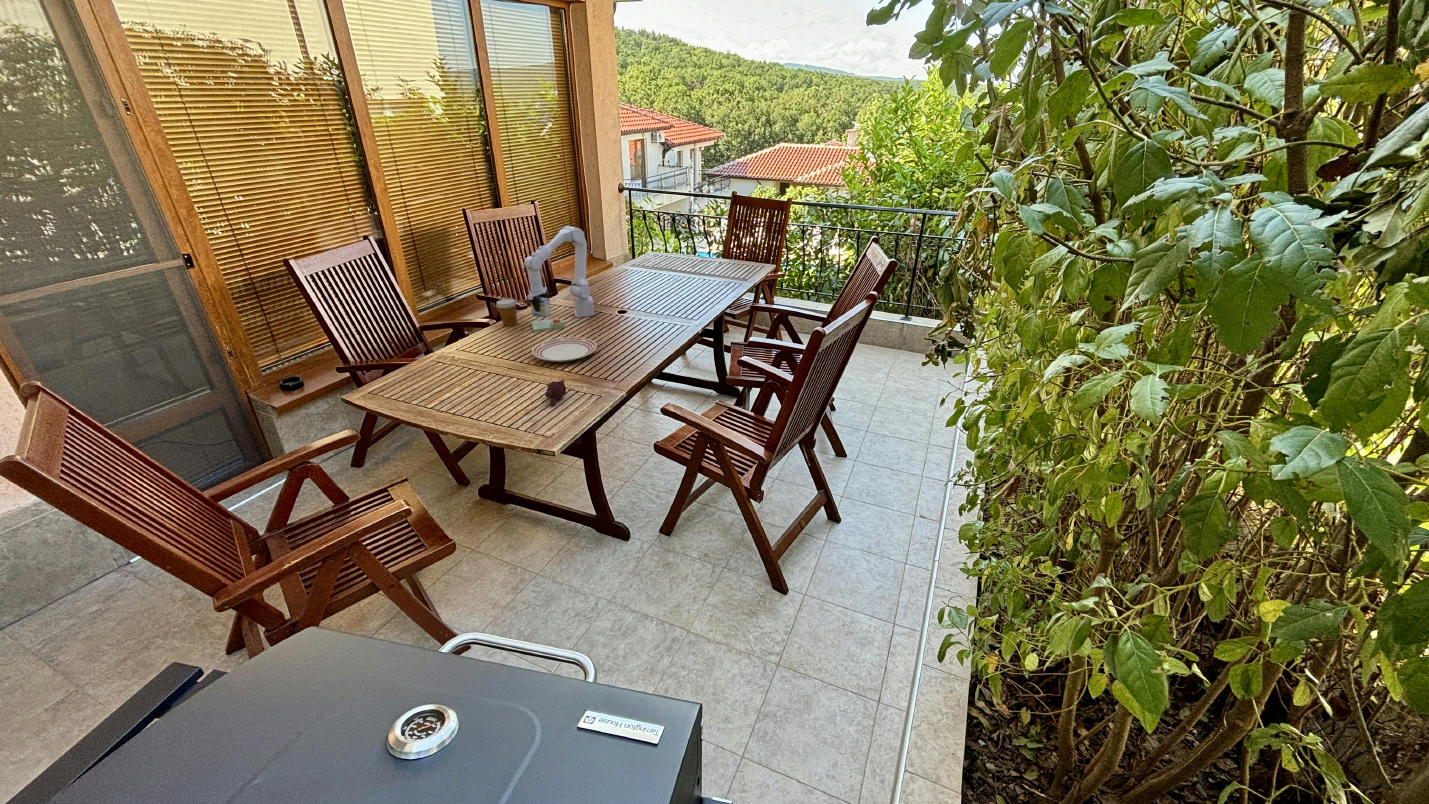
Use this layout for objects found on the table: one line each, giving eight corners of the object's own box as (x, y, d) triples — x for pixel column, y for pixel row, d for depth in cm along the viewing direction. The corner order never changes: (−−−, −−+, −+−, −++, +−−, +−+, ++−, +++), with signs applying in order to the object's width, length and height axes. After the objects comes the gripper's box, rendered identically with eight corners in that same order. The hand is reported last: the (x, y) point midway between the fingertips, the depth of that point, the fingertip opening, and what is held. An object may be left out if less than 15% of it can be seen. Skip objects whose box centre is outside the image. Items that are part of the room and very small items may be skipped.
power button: (559, 320, 290) (559, 317, 290) (560, 322, 288) (559, 319, 287) (553, 321, 290) (552, 318, 289) (553, 323, 287) (553, 320, 286)
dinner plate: (575, 338, 276) (574, 331, 275) (610, 353, 259) (609, 346, 257) (521, 355, 259) (519, 348, 258) (554, 372, 242) (553, 365, 240)
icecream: (551, 373, 225) (535, 394, 213) (568, 370, 223) (553, 390, 211) (558, 389, 229) (543, 410, 216) (575, 385, 227) (561, 407, 214)
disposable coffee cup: (523, 321, 299) (519, 298, 293) (515, 328, 290) (511, 304, 285) (505, 321, 300) (500, 298, 294) (497, 327, 291) (492, 304, 286)
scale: (561, 320, 299) (560, 314, 297) (564, 328, 288) (563, 322, 287) (531, 324, 295) (530, 318, 293) (533, 332, 284) (532, 326, 283)
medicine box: (532, 316, 288) (529, 299, 284) (537, 313, 292) (534, 296, 288) (546, 317, 286) (544, 300, 282) (551, 314, 290) (549, 297, 286)
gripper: (535, 287, 275) (540, 315, 281) (550, 278, 287) (555, 305, 293) (521, 286, 276) (526, 314, 282) (537, 277, 289) (542, 304, 295)
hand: (540, 309), depth 288 cm, fingers closed on medicine box, 4 cm apart
